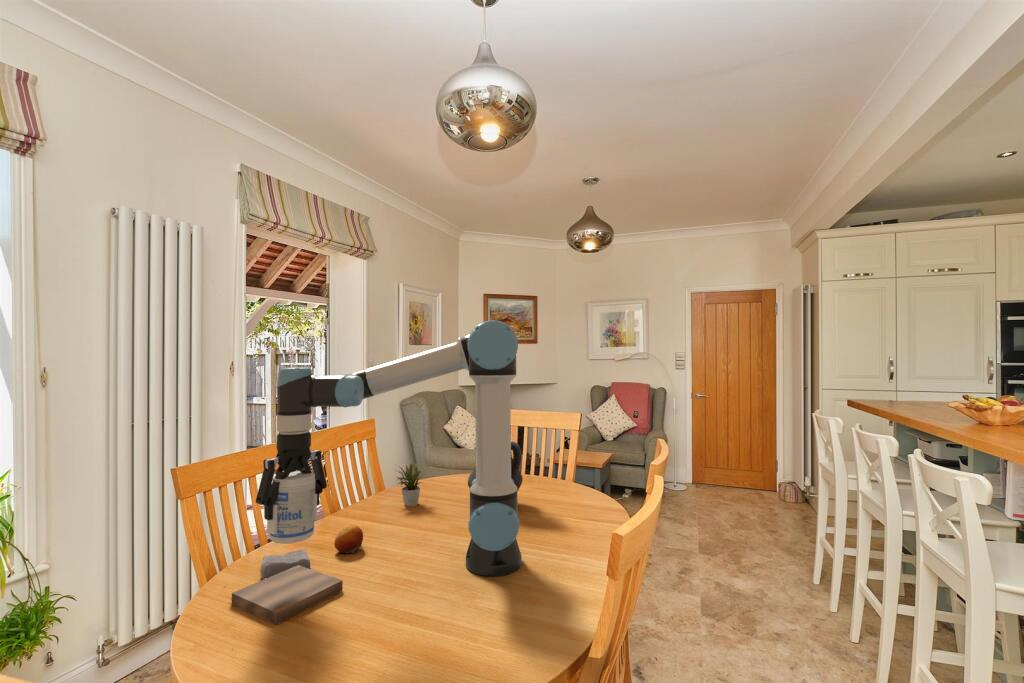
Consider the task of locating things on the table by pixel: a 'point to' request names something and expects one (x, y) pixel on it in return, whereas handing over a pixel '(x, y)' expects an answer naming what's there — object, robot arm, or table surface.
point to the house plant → (410, 485)
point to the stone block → (283, 562)
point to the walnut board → (286, 593)
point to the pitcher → (514, 467)
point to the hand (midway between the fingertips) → (292, 526)
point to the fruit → (349, 539)
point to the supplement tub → (295, 508)
